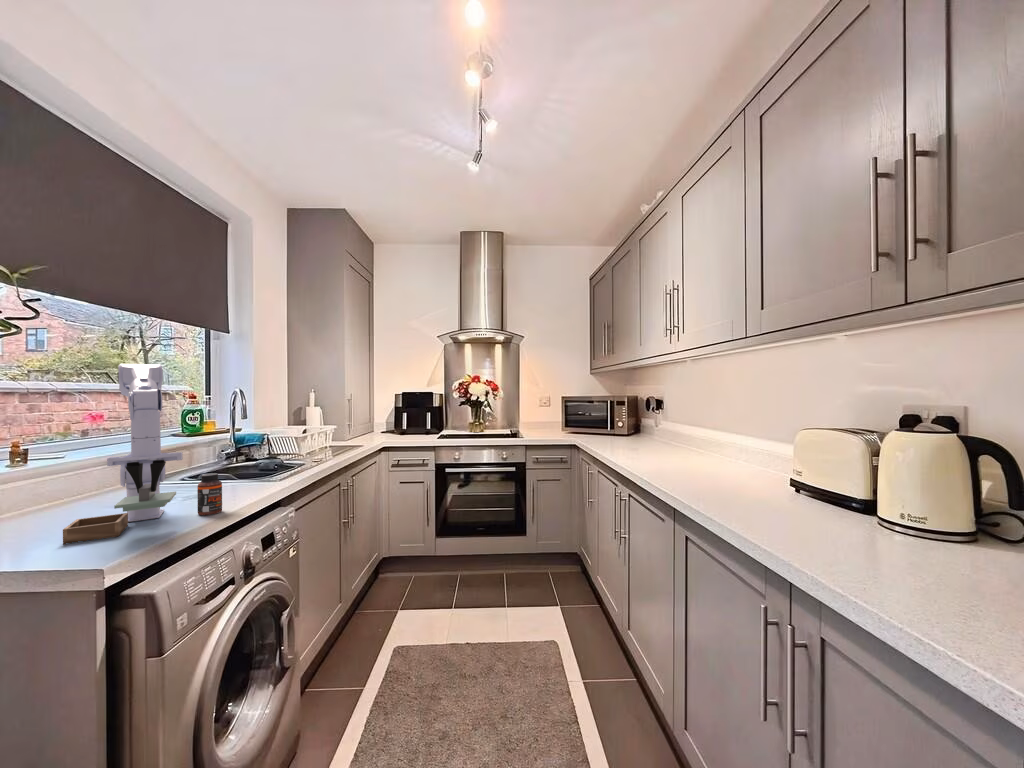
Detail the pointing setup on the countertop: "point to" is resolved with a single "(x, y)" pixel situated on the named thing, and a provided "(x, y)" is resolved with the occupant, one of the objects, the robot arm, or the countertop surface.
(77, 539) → the box
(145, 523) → the countertop surface
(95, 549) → the countertop surface
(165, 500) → the lid
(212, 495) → the supplement bottle
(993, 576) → the countertop surface
